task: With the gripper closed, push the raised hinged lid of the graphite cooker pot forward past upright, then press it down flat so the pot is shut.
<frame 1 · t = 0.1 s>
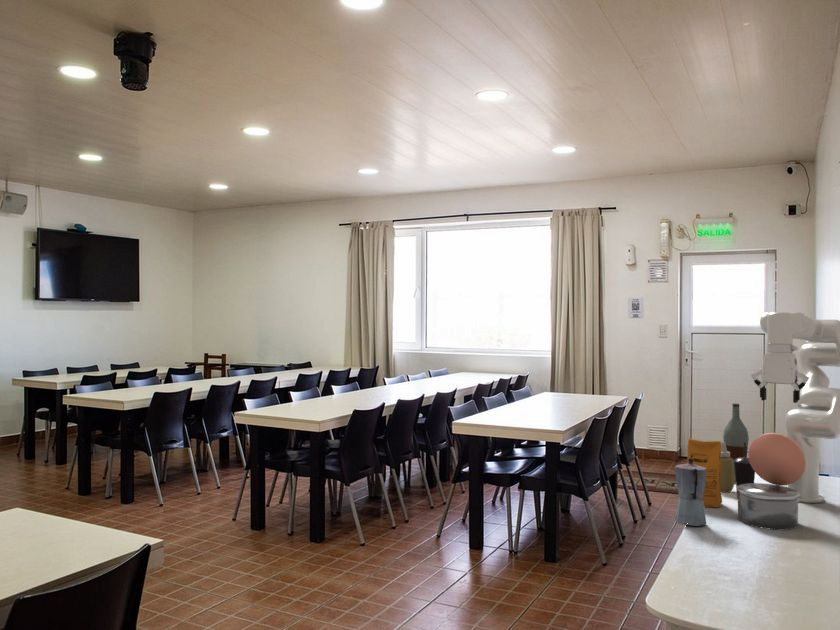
hand: (779, 401, 235), 36 cm above the table, tool pointing down, fingers open, 9 cm apart
drinking cup: (744, 500, 251), on the table
coffee package: (702, 504, 245), on the table
squeeze bottle: (723, 491, 263), on the table
cooker pot: (767, 521, 224), on the table
vodka: (735, 480, 280), on the table
moka pot: (691, 524, 221), on the table
lid: (777, 458, 230), point 19 cm above the table, hinge at 80.0°
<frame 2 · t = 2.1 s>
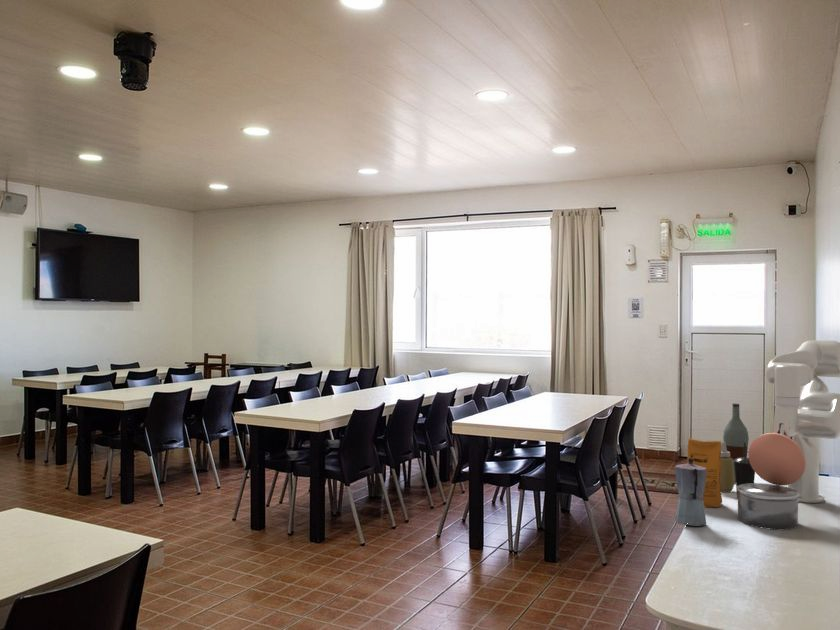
hand: (786, 457, 236), 18 cm above the table, tool pointing down, fingers closed
nothing on the table moved.
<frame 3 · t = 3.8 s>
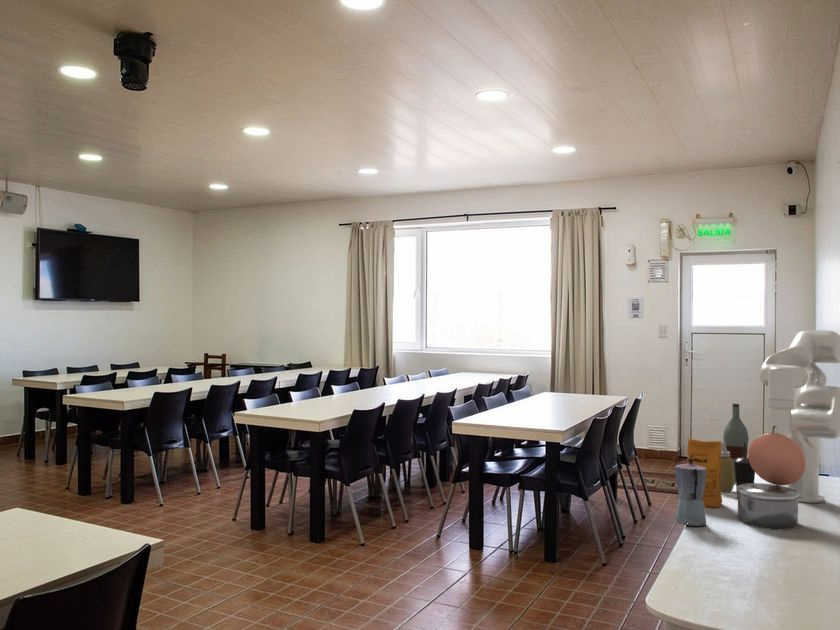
hand: (780, 460, 232), 17 cm above the table, tool pointing down, fingers closed
lid: (777, 458, 230), point 19 cm above the table, hinge at 78.8°, touching gripper
everything else where it was.
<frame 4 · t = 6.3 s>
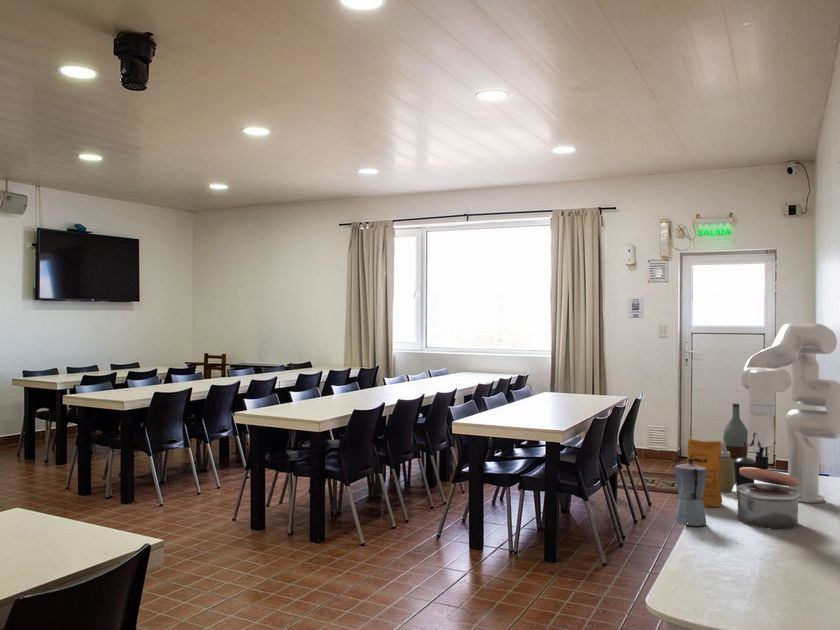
hand: (761, 468, 221), 17 cm above the table, tool pointing down, fingers closed
lid: (768, 474, 225), point 15 cm above the table, hinge at 22.3°, touching gripper
everything else where it was.
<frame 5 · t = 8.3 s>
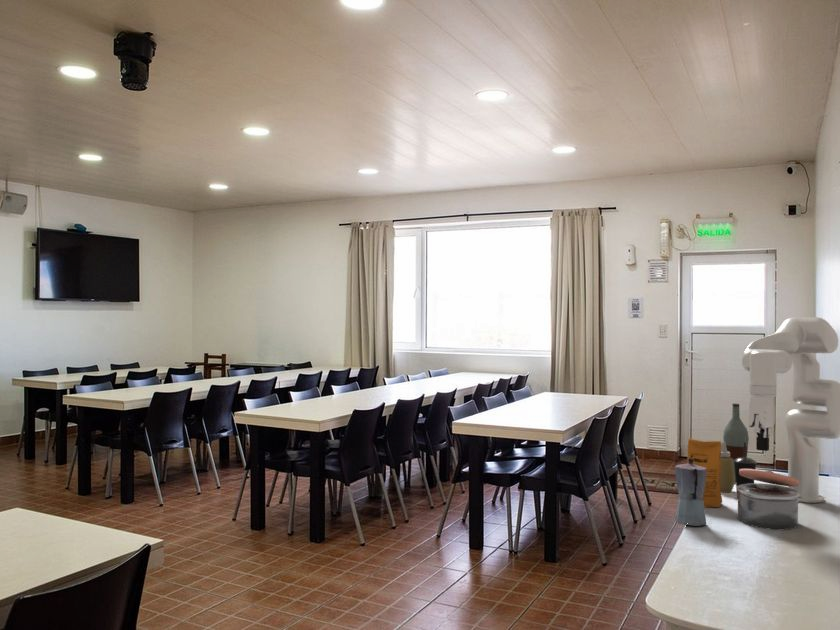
hand: (762, 449, 221), 23 cm above the table, tool pointing down, fingers closed
lid: (768, 475, 225), point 14 cm above the table, hinge at 20.5°
everything else where it was.
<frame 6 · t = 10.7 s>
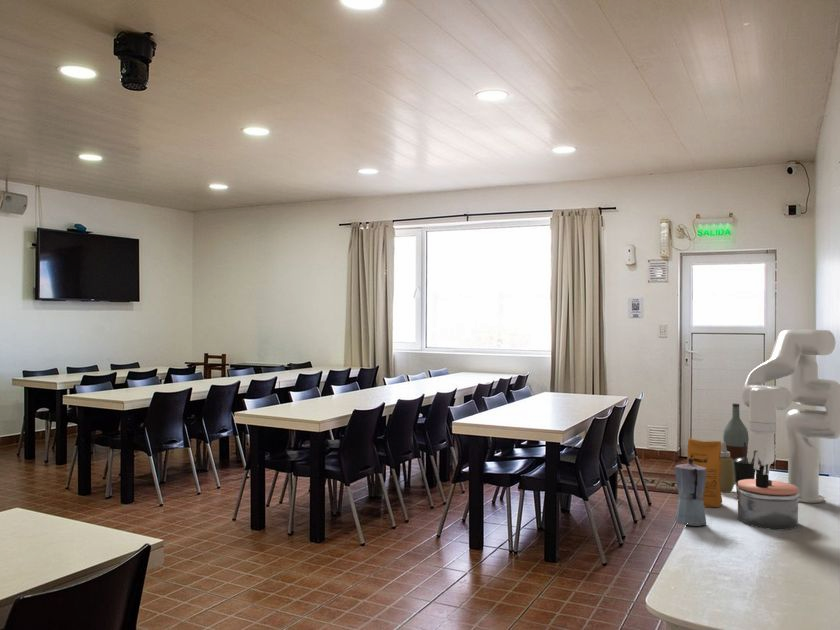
hand: (762, 486, 221), 12 cm above the table, tool pointing down, fingers closed
lid: (767, 484, 224), point 12 cm above the table, hinge at 1.2°, touching gripper
everything else where it was.
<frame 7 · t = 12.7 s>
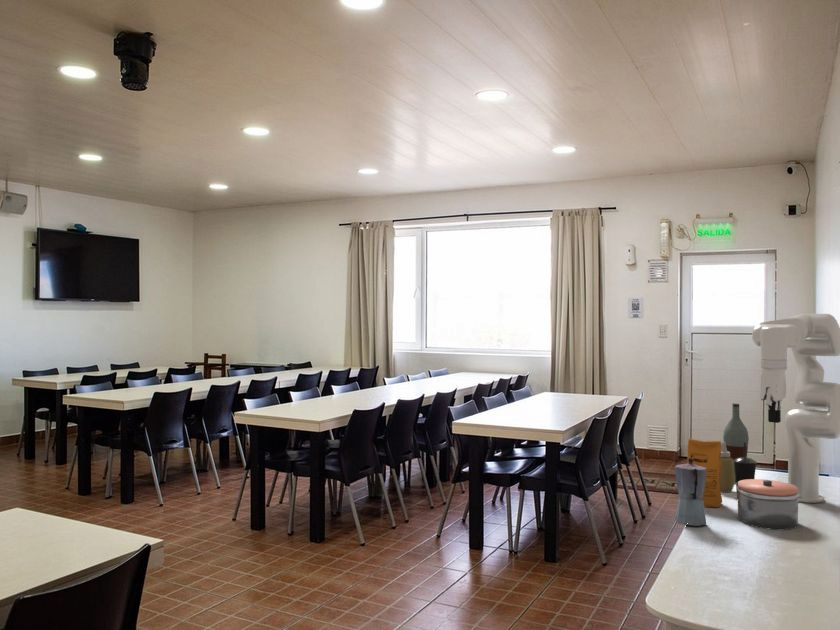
hand: (774, 421, 228), 31 cm above the table, tool pointing down, fingers closed
lid: (767, 484, 224), point 11 cm above the table, hinge at 0.3°
everything else where it was.
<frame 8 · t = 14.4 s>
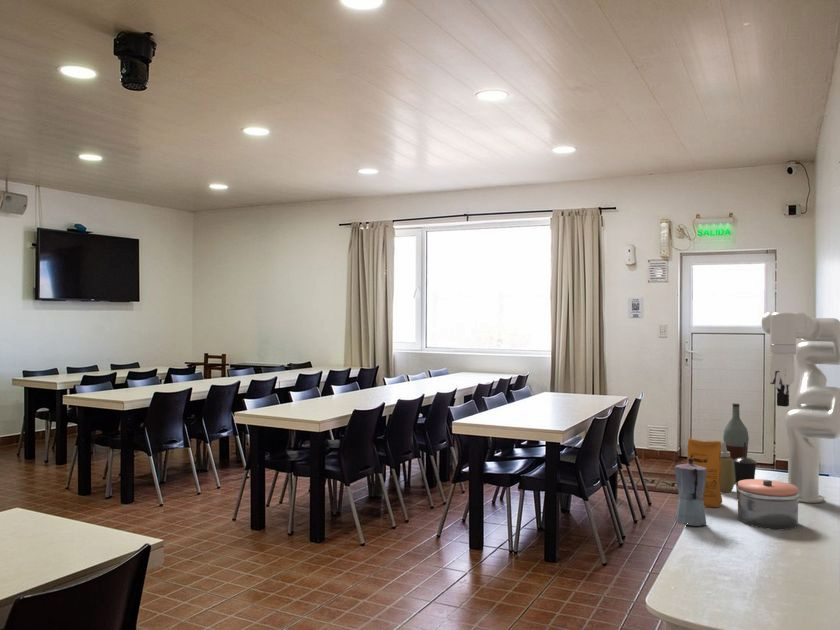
hand: (782, 405, 234), 35 cm above the table, tool pointing down, fingers closed
nothing on the table moved.
at the end: lid at +0° (first picture: +80°); moka pot moved 0.2 cm from its start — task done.
